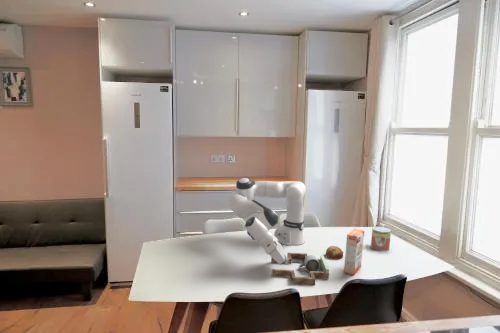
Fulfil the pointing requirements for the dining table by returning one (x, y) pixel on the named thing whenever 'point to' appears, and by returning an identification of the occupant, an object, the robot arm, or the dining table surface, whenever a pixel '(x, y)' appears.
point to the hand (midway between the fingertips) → (287, 261)
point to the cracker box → (353, 251)
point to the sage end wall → (324, 265)
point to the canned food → (380, 238)
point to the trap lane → (290, 273)
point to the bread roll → (334, 252)
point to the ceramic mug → (310, 264)
